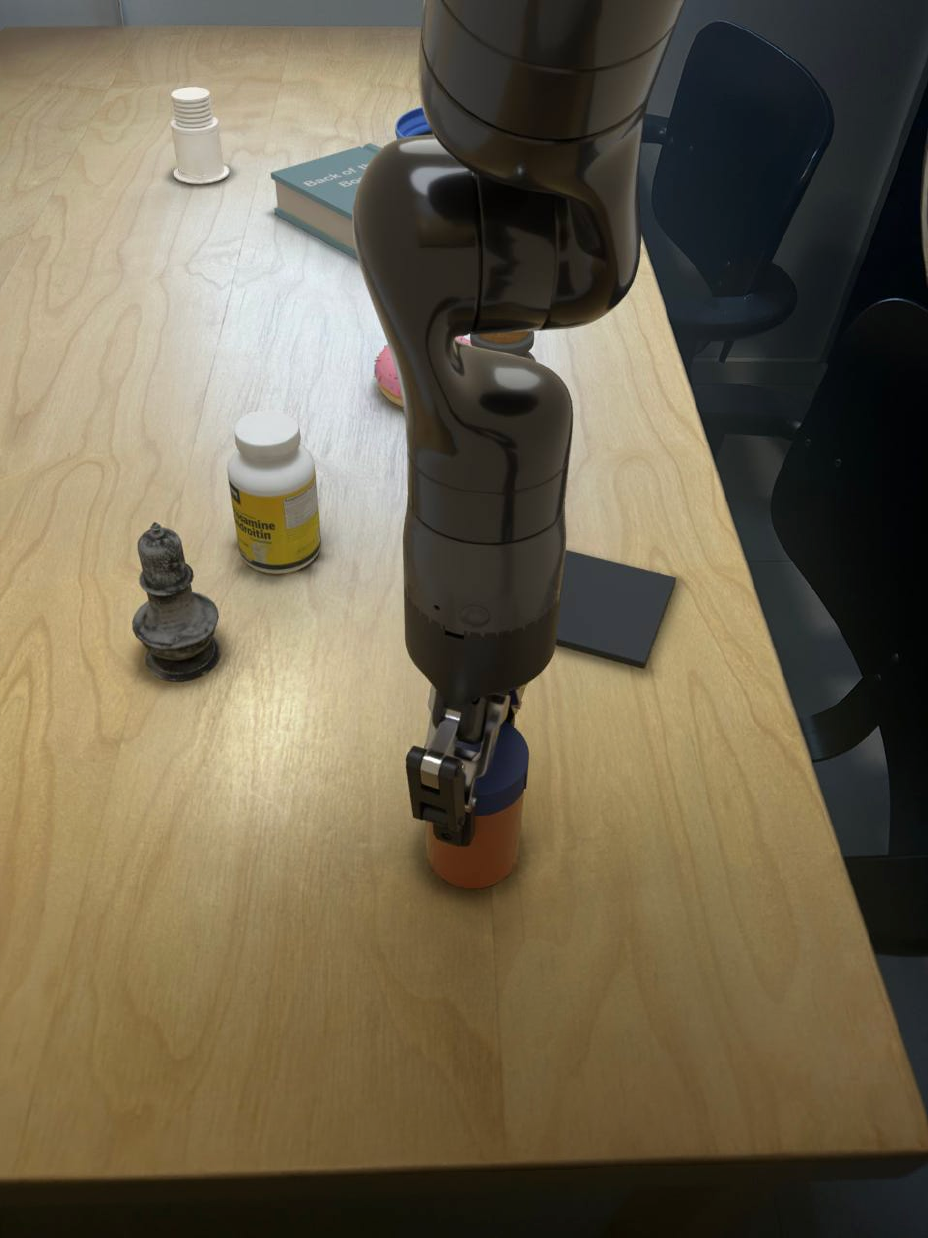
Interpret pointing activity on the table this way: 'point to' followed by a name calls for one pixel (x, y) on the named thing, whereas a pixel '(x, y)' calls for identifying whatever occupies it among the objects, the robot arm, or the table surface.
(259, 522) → the pill bottle
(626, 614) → the coaster
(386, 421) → the table surface
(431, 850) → the jar
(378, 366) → the doughnut
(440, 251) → the robot arm
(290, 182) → the book
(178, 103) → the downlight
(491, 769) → the jar lid
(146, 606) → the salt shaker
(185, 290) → the table surface
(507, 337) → the bottle
